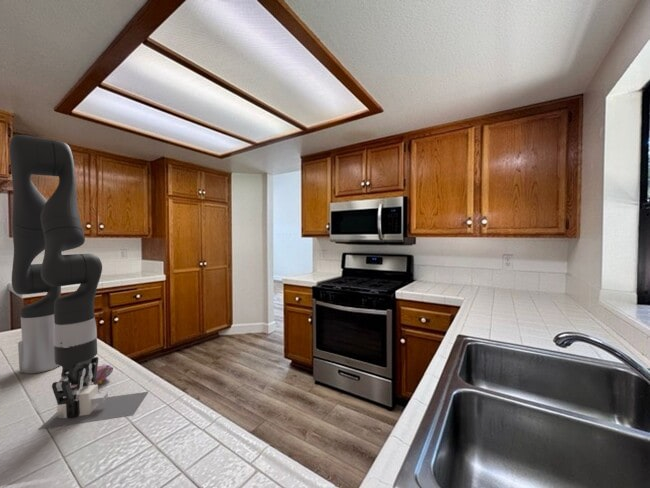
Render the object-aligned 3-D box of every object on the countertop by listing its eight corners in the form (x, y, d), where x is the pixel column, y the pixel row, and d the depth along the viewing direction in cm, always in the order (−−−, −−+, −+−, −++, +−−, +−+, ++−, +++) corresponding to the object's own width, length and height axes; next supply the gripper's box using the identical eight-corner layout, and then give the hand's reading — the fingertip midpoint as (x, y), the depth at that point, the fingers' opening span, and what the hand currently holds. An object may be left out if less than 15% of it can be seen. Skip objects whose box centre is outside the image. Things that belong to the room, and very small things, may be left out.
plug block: (53, 419, 64) (52, 398, 63) (64, 409, 67) (63, 388, 67) (101, 412, 66) (100, 391, 66) (109, 402, 70) (109, 382, 70)
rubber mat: (38, 431, 60) (37, 429, 60) (67, 404, 70) (67, 402, 70) (133, 417, 65) (133, 415, 65) (148, 393, 75) (148, 391, 75)
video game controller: (74, 404, 73) (83, 381, 72) (61, 395, 73) (70, 372, 73) (110, 384, 82) (118, 364, 82) (98, 376, 83) (106, 356, 82)
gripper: (75, 330, 72) (78, 396, 72) (33, 353, 58) (37, 434, 59) (109, 327, 74) (112, 392, 74) (76, 349, 60) (80, 427, 61)
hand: (79, 410), depth 66 cm, fingers closed on plug block, 4 cm apart
